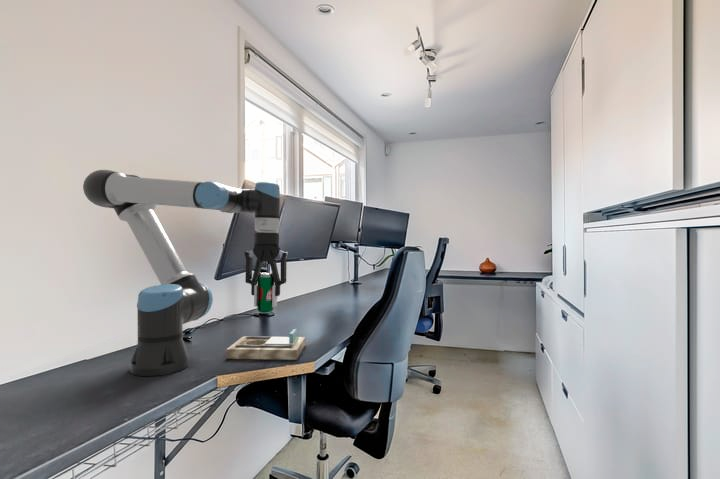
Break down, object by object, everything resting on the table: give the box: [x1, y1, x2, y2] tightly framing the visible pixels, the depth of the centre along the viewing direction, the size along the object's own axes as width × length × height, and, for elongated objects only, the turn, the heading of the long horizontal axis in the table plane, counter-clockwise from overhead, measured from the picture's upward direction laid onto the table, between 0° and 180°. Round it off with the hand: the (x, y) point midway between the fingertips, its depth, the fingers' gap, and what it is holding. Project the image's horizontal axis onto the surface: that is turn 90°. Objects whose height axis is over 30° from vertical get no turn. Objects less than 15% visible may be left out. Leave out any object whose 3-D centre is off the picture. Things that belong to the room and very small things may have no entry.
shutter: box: [265, 328, 299, 347], centre depth 130 cm, size 9×9×4 cm
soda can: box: [256, 272, 275, 314], centre depth 123 cm, size 5×5×12 cm
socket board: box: [226, 335, 306, 361], centre depth 130 cm, size 22×16×4 cm
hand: (265, 305), depth 123 cm, fingers closed on soda can, 5 cm apart
